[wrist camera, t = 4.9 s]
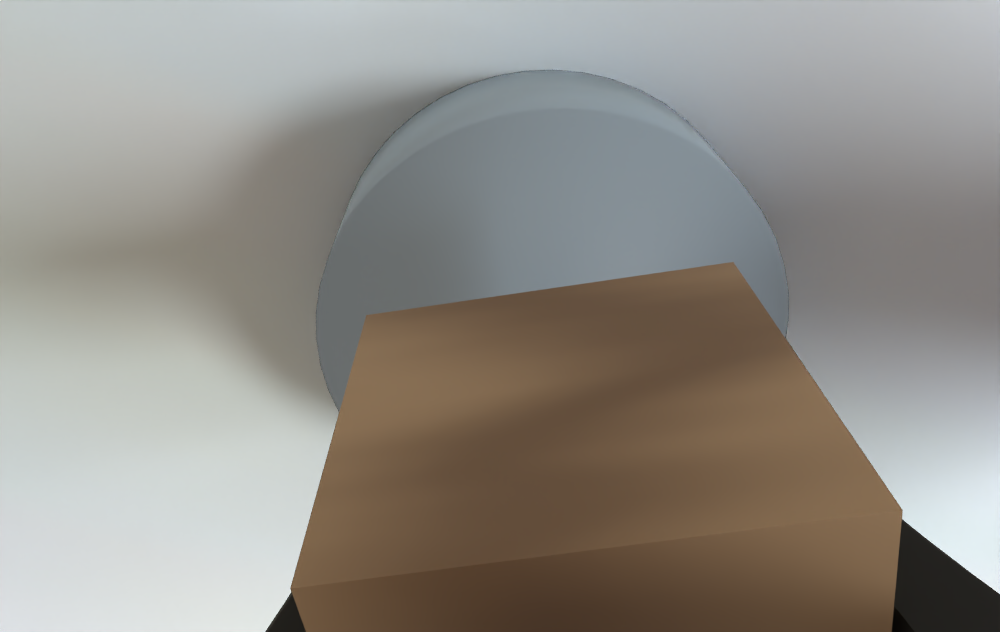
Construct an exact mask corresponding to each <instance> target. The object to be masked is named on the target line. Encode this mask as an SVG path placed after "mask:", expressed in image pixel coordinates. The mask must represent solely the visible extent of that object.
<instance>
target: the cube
mask: <svg viewBox="0 0 1000 632" xmlns="http://www.w3.org/2000/svg"><path fill="white" fill-rule="evenodd" d="M902 511H903V510H902V509H901V507H900V506H899V504H898V503H897V501H896V500H895V498H894V497H893V495H892V494H891V493H890V491H889V490H888V488H887V487H886V485H885V484H884V482H883V481H882V479H881V478H880V476H879V475H878V473H877V472H876V471H875V469H874V468H873V466H872V465H871V463H870V462H869V460H868V459H867V457H866V456H865V454H864V453H863V451H862V450H861V449H860V447H859V446H858V444H857V443H856V441H855V440H854V438H853V437H852V435H851V434H850V432H849V431H848V429H847V428H846V426H845V425H844V424H843V422H842V421H841V419H840V418H839V416H838V415H837V413H836V412H835V410H834V409H833V407H832V406H831V404H830V403H829V402H828V400H827V399H826V397H825V396H824V394H823V393H822V391H821V390H820V388H819V387H818V385H817V384H816V382H815V381H814V380H813V378H812V377H811V375H810V374H809V372H808V371H807V369H806V368H805V366H804V365H803V363H802V362H801V360H800V359H799V358H798V356H797V355H796V353H795V352H794V350H793V349H792V347H791V346H790V344H789V343H788V341H787V340H786V338H785V337H784V336H783V334H782V333H781V331H780V330H779V328H778V327H777V325H776V324H775V322H774V321H773V319H772V318H771V316H770V315H769V313H768V312H767V311H766V309H765V308H764V306H763V305H762V303H761V302H760V300H759V299H758V297H757V296H756V294H755V293H754V291H753V290H752V289H751V287H750V286H749V284H748V283H747V281H746V280H745V278H744V277H743V275H742V274H741V272H740V271H739V269H738V268H737V267H736V265H735V264H734V262H729V263H722V264H715V265H708V266H702V267H695V268H688V269H681V270H674V271H667V272H660V273H653V274H646V275H639V276H633V277H626V278H619V279H612V280H605V281H598V282H591V283H584V284H577V285H570V286H564V287H557V288H550V289H543V290H536V291H529V292H522V293H515V294H508V295H501V296H495V297H488V298H481V299H474V300H467V301H460V302H453V303H446V304H439V305H432V306H426V307H419V308H412V309H405V310H398V311H391V312H384V313H377V314H370V315H366V318H365V321H364V325H363V329H362V332H361V336H360V339H359V343H358V347H357V350H356V354H355V357H354V361H353V365H352V368H351V372H350V375H349V379H348V383H347V386H346V390H345V394H344V397H343V401H342V404H341V408H340V412H339V415H338V419H337V422H336V426H335V430H334V433H333V437H332V440H331V444H330V448H329V451H328V455H327V458H326V462H325V466H324V469H323V473H322V476H321V480H320V484H319V487H318V491H317V495H316V498H315V502H314V505H313V509H312V513H311V516H310V520H309V523H308V527H307V531H306V534H305V538H304V541H303V545H302V549H301V552H300V556H299V559H298V563H297V567H296V570H295V574H294V577H293V581H292V585H291V588H290V589H291V592H292V594H293V597H294V600H295V603H296V605H297V608H298V611H299V614H300V617H301V619H302V622H303V625H304V628H305V630H306V632H892V622H893V611H894V600H895V589H896V578H897V567H898V556H899V544H900V533H901V522H902Z"/></svg>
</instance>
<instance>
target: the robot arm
mask: <svg viewBox="0 0 1000 632" xmlns="http://www.w3.org/2000/svg"><path fill="white" fill-rule="evenodd" d="M266 632H306V630H305V628H304V625H303V622H302V619H301V617H300V614H299V611H298V608H297V605H296V603H295V600H294V597H293V594H292V592H291V594H290V595H289V597H288V598H287V600H286V602H285V603H284V605H283V606H282V608H281V609H280V611H279V612H278V614H277V615H276V617H275V618H274V620H273V621H272V623H271V624H270V626H269V627H268V629H267V630H266ZM892 632H1000V594H999V593H997V592H996V591H995V590H993V589H992V588H991V587H989V586H988V585H986V584H985V583H984V582H982V581H981V580H980V579H978V578H977V577H976V576H974V575H973V574H971V573H970V572H969V571H968V570H966V569H965V568H964V567H962V566H961V565H960V564H958V563H957V562H956V561H955V560H953V559H952V558H951V557H949V556H948V555H947V554H945V553H944V552H943V551H942V550H940V549H939V548H938V547H936V546H935V545H934V544H932V543H931V542H930V541H929V540H927V539H926V538H925V537H923V536H922V535H921V534H920V533H918V532H917V531H916V530H915V529H913V528H912V527H911V526H910V525H908V524H907V523H906V522H905V521H904V520H902V522H901V533H900V544H899V556H898V567H897V578H896V589H895V600H894V611H893V622H892Z"/></svg>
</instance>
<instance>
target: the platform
mask: <svg viewBox="0 0 1000 632" xmlns="http://www.w3.org/2000/svg"><path fill="white" fill-rule="evenodd" d="M729 262H734V264H735V265H736V267H737V268H738V269H739V271H740V272H741V274H742V275H743V277H744V278H745V280H746V281H747V283H748V284H749V286H750V287H751V289H752V290H753V291H754V293H755V294H756V296H757V297H758V299H759V300H760V302H761V303H762V305H763V306H764V308H765V309H766V311H767V312H768V313H769V315H770V316H771V318H772V319H773V321H774V322H775V324H776V325H777V327H778V328H779V330H780V331H781V333H782V334H783V336H784V337H785V338H786V333H787V326H788V318H789V292H788V286H787V279H786V273H785V266H784V262H783V259H782V256H781V253H780V250H779V247H778V244H777V240H776V238H775V236H774V234H773V232H772V230H771V228H770V226H769V224H768V222H767V220H766V218H765V216H764V214H763V212H762V211H761V209H760V208H759V206H758V205H757V204H756V202H755V201H754V199H753V198H752V197H751V195H750V194H749V192H748V191H747V190H746V188H745V187H744V186H743V185H742V183H741V182H740V181H739V180H738V179H737V177H736V176H735V175H734V174H733V173H732V171H731V170H730V169H729V168H728V167H727V165H726V164H725V163H724V162H723V161H722V159H721V158H720V157H719V156H718V155H717V153H716V152H715V151H714V150H713V149H712V147H711V146H710V145H709V144H708V142H707V141H706V140H705V139H704V138H703V137H702V136H701V135H700V134H699V133H698V132H697V131H696V130H695V129H694V128H693V127H692V126H691V125H690V124H689V123H688V122H687V121H686V120H685V119H684V118H683V117H681V116H680V115H679V114H677V113H676V112H675V111H673V110H672V109H671V108H670V107H668V106H667V105H666V104H664V103H663V102H661V101H659V100H657V99H655V98H654V97H652V96H650V95H648V94H646V93H645V92H643V91H641V90H639V89H637V88H634V87H631V86H629V85H626V84H624V83H621V82H618V81H616V80H613V79H609V78H605V77H601V76H596V75H592V74H588V73H583V72H572V71H562V70H538V71H522V72H517V73H511V74H505V75H500V76H495V77H491V78H488V79H485V80H482V81H479V82H476V83H472V84H469V85H466V86H464V87H462V88H460V89H458V90H456V91H454V92H452V93H449V94H447V95H445V96H443V97H441V98H439V99H438V100H436V101H435V102H433V103H432V104H430V105H429V106H427V107H425V108H424V109H422V110H421V111H419V112H418V113H416V114H415V115H414V116H413V117H412V118H410V119H409V120H408V121H407V122H406V123H405V124H403V125H402V126H401V127H400V128H399V129H398V130H396V131H395V132H394V133H393V134H392V136H391V137H390V138H389V139H388V140H387V141H386V142H385V144H384V145H383V146H382V147H381V148H380V149H379V150H378V152H377V153H376V154H375V156H374V157H373V159H372V160H371V162H370V163H369V165H368V166H367V168H366V169H365V171H364V172H363V174H362V175H361V177H360V180H359V182H358V184H357V186H356V188H355V190H354V192H353V194H352V197H351V199H350V201H349V204H348V206H347V209H346V212H345V214H344V217H343V220H342V222H341V225H340V228H339V230H338V233H337V236H336V238H335V241H334V244H333V246H332V249H331V251H330V254H329V257H328V260H327V263H326V267H325V270H324V273H323V277H322V280H321V283H320V289H319V296H318V303H317V310H316V340H317V346H318V352H319V358H320V364H321V368H322V371H323V374H324V378H325V381H326V384H327V387H328V390H329V392H330V394H331V396H332V398H333V401H334V403H335V405H336V407H337V409H338V411H339V412H340V408H341V404H342V401H343V397H344V394H345V390H346V386H347V383H348V379H349V375H350V372H351V368H352V365H353V361H354V357H355V354H356V350H357V347H358V343H359V339H360V336H361V332H362V329H363V325H364V321H365V318H366V315H370V314H377V313H384V312H391V311H398V310H405V309H412V308H419V307H426V306H432V305H439V304H446V303H453V302H460V301H467V300H474V299H481V298H488V297H495V296H501V295H508V294H515V293H522V292H529V291H536V290H543V289H550V288H557V287H564V286H570V285H577V284H584V283H591V282H598V281H605V280H612V279H619V278H626V277H633V276H639V275H646V274H653V273H660V272H667V271H674V270H681V269H688V268H695V267H702V266H708V265H715V264H722V263H729Z"/></svg>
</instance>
